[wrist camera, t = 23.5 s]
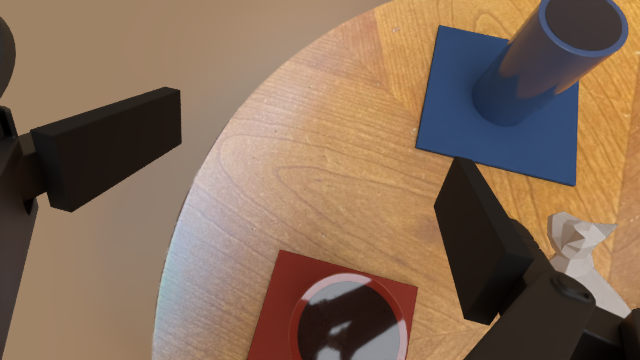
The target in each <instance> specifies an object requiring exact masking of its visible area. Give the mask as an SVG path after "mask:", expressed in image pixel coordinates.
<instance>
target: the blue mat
mask: <svg viewBox="0 0 640 360" xmlns="http://www.w3.org/2000/svg"><path fill="white" fill-rule="evenodd" d="M508 42H509V40H507V39H503V38H498V37H493V36H489V35H484V34H479V33H474V32H470V31H465V30H460V29H456V28H451V27H446V26H442V25H440V26H439V28H438V33H437V38H436V43H435V49H434V54H433V59H432V64H431V69H430V75H429V80H428V85H427V90H426V95H425V101H424V106H423V111H422V116H421V121H420V127H419V132H418V137H417V142H416V147H415V148H417V149H421V150H425V151H429V152H433V153H437V154H442V155H446V156H450V157H455V156H459V157H463V158H468V159H472V160H473V161H474V163H479V164H483V165H487V166H491V167H495V168H499V169H503V170H507V171H511V172H516V173H520V174H524V175H528V176H532V177H536V178H540V179H544V180H548V181H553V182H557V183H561V184H565V185H569V186H575V185H576V157H577V123H578V89H579V80H578V81H577V82H576V83H574V84H573V85H572V86H571V87H569V88H568V89H567V90H565V91H564V92H563V93H561V94H560V95H559V96H557V97H556V98H555V99H553V100H552V101H551V102H550V103H548V104H547V105H546V106H544V107H543V108H542V109H540V110H539V111H538V112H536V113H535V114H534V115H532V116H531V117H530V118H529V119H527V120H526V121H524V122H523V123H521V124H519V125H515V126H500V125H496V124H494V123H491V122H490V121H488V120H486V119H485V118H484V117H482V116H481V115H480V114H479V112H478V111H477V110H476V108H475V106H474V104H473V100H472V90H473V87H474V85H475V83H476V82H477V80H478V79H479V78H480V77H481V75H482V74H483V73H484V72H485V70H486V69H487V68H488V67H489V65H490V64H491V63H492V62H493V60H494V59H495V58H496V57H497V55H498V54H499V53H500V52H501V50H502V49H503V48H504V47H505V45H506V44H507V43H508Z"/></svg>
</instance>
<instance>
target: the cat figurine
mask: <svg viewBox="0 0 640 360" xmlns="http://www.w3.org/2000/svg"><path fill="white" fill-rule="evenodd" d="M617 226H618V224H598V223H590V222H586V221H582V220H580V219H578V218H576V217H574V216H572V215H570V214H568V213H566V212H564V211H563V212H560V213H556V214H552V215H550V216H548V225H547V235H548V238H549V240H550V243H551V245H552V248H553V249H554V251H555V252H556V253H555V254H554V255H553V256H552V257H551V258H550V259H549V262H550V263H551V265H552V266H553V268H554V269H555V270H556V271H559V272H562V273H564V274H566V275H568V276H570V277H572V278H574V279H575V280H577V281H578V282H580V283H581V284H583V285H584V286H585V287H586V288H587V289H588V290H589V291H590V292H591V293H592V294H593V296H594V298H595V299H596V306H598V307H600V308H603V309H605V310H607V311H609V312H612V313H614V314H616V315H618V316H620V317H623V318H625V317H626V316H627V315H628V314H629V313H630V312H631V310H630V309H629V307H628V306H627V305H626V303H625V302H624V301H623V299H622V298H621V297H620V296H619V294H618V293H617V292H616V291H615V290H614V289H613V288H612V287H611V286H610V285H609V284H608V282H607V281H606V280H605V279H604V278H603V277H602V276H601V275H600V274H599V273H598V271H597V270H596V269H595V268H594V264H593V258H592V253H591V252H592V251H593V249H594V248H595V247H596V246H597V244H599V243H600V242H602V241H603V240H605V239H606V238H607V237H608V236H609V235H610V234H611V233H612V232H613V230H614V229H615V228H616V227H617Z"/></svg>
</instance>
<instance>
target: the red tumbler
mask: <svg viewBox="0 0 640 360" xmlns="http://www.w3.org/2000/svg"><path fill="white" fill-rule="evenodd" d="M288 339H289V349H290V354H291V357H292V360H406V356H407V351H408V330H407V324H406V320H405V317H404V314H403V312H402V309H401V307H400V305H399V304H398V302H397V300H396V299H395V298H394V296H393V295H392V294H391V293H390V292H389V290H388V289H387V288H385V287H384V286H383V285H382V284H380V283H379V282H378V281H376V280H374V279H372V278H370V277H368V276H365V275H362V274H358V273H351V272H342V273H336V274H331V275H328V276H325V277H323V278H321V279H319V280H317V281H316V282H314V283H313V284H312V285H311V286H310V287H309V288H308V289H307V290H306V291H305V292H304V293H303V294H302V296H301V297H300V299H299V300H298V302H297V304H296V306H295V308H294V310H293V313H292V316H291V319H290V324H289V333H288Z"/></svg>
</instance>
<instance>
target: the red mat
mask: <svg viewBox="0 0 640 360" xmlns="http://www.w3.org/2000/svg"><path fill="white" fill-rule="evenodd" d="M342 272H351V273H358V274H362V275H365V276H368V277H370V278H372V279H374V280H376V281H378V282H379V283H380V284H382V285H383V286H384V287H385V288H387V289H388V290H389V292H390V293H391V294H392V295H393V296H394V298H395V299H396V300H397V302H398V304H399V305H400V307H401V309H402V312H403V314H404V317H405V320H406V324H407V330H408V344H409V338H410V332H411V326H412V320H413V314H414V308H415V302H416V296H417V290H418V287H415V286H411V285H408V284H404V283H400V282H397V281H393V280H389V279H386V278H382V277H379V276H375V275H371V274H368V273H364V272H360V271H357V270H353V269H349V268H346V267H342V266H339V265H335V264H331V263H328V262H324V261H320V260H317V259H313V258H310V257H306V256H302V255H299V254H295V253H291V252H288V251H284V250H280V251H279V254H278V257H277V261H276V264H275V267H274V271H273V274H272V278H271V281H270V284H269V288H268V291H267V294H266V298H265V301H264V304H263V308H262V311H261V314H260V318H259V321H258V324H257V328H256V331H255V334H254V338H253V341H252V345H251V348H250V351H249V355H248V358H247V360H292V357H291V354H290V349H289V339H288V333H289V324H290V319H291V316H292V313H293V310H294V308H295V306H296V304H297V302H298V300H299V299H300V297H301V296H302V294H303V293H304V292H305V291H306V290H307V289H308V288H309V287H310V286H311V285H312V284H313V283H314V282H316V281H317V280H319V279H321V278H323V277H325V276H328V275H331V274H336V273H342Z"/></svg>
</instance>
